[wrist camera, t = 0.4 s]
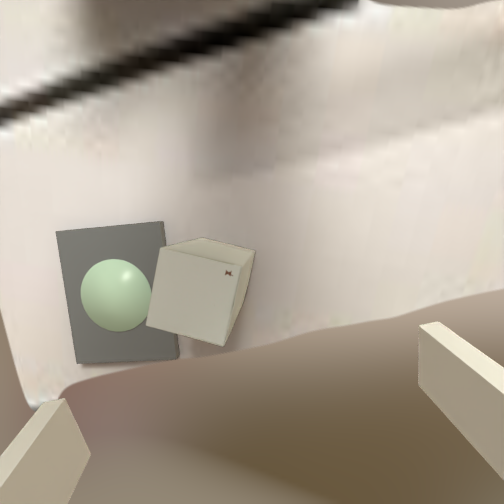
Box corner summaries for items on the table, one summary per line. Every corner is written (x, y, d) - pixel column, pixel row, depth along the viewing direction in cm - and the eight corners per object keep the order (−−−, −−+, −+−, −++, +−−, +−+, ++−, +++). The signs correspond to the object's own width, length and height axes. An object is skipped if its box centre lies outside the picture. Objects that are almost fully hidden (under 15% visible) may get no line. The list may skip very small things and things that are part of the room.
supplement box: (200, 236, 35) (158, 243, 23) (256, 250, 35) (245, 265, 22) (188, 290, 36) (142, 326, 24) (243, 305, 36) (225, 349, 23)
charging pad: (62, 231, 37) (54, 231, 35) (163, 221, 35) (158, 221, 34) (82, 359, 39) (75, 364, 37) (179, 354, 37) (175, 359, 36)
